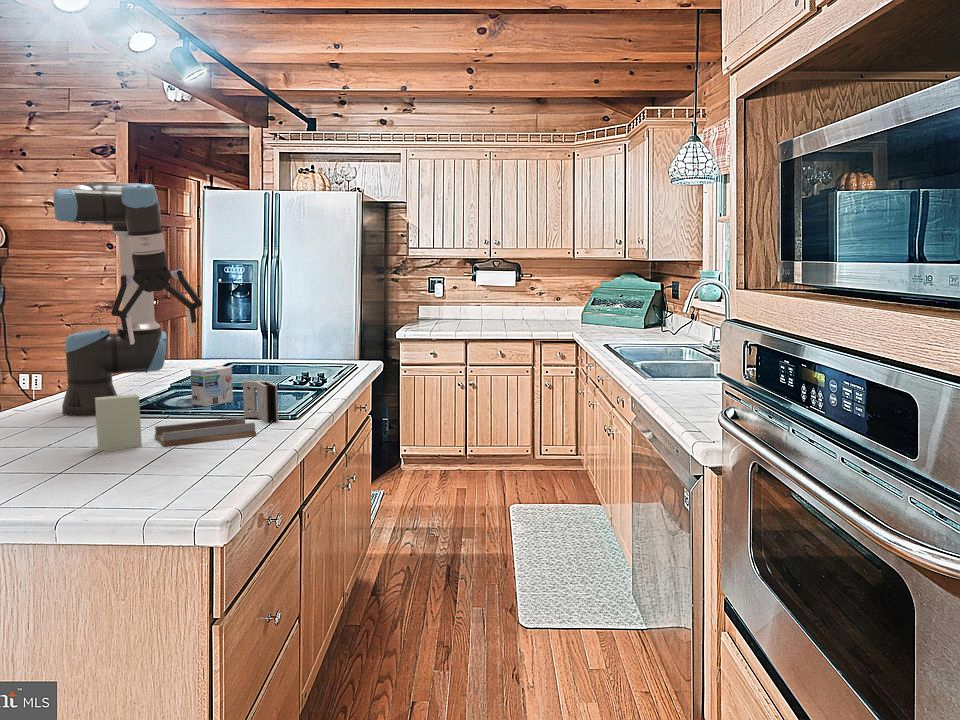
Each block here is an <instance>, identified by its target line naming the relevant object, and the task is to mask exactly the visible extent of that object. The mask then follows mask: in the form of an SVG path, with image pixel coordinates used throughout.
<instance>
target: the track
mask: <svg viewBox="0 0 960 720" xmlns="http://www.w3.org/2000/svg"><path fill="white" fill-rule="evenodd" d="M250 437H251V438H252V437H257V431H256V423H255V422H248V423H246V417H245V416H243V417H233V418H225V419H214V420H206V421H205V420H204V421H195V422H194V421H193V422H185V423H176V424H167V425H160V426H159V425H157V426H154V438H155V439H154V440H156V441H157V442H159V444H161V445H163V447H165V448H166V447H174V446H182V445H184V446H185V445H190V444H199V443H200V444H201V443H207V442H215V441H224V440H231V439H232V440H233V439H241V438H243V439H244V438H250Z"/></svg>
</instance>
